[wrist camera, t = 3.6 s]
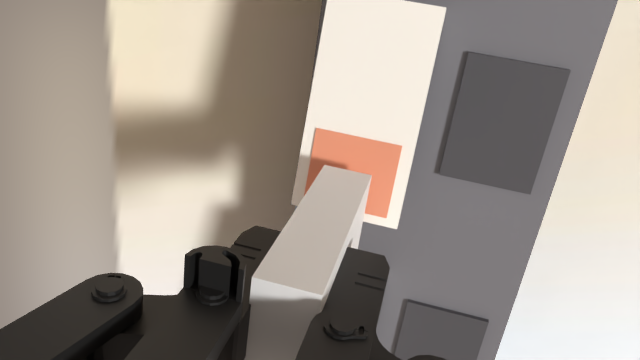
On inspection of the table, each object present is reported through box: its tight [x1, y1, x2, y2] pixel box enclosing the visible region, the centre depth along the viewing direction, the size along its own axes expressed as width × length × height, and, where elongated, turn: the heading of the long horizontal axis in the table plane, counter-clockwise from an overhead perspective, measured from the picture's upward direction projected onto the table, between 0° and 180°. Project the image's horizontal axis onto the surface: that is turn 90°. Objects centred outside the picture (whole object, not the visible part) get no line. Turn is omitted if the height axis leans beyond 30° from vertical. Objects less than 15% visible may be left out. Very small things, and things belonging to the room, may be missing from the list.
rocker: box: [291, 0, 446, 229], centre depth 18 cm, size 7×4×2 cm, turn 172°
